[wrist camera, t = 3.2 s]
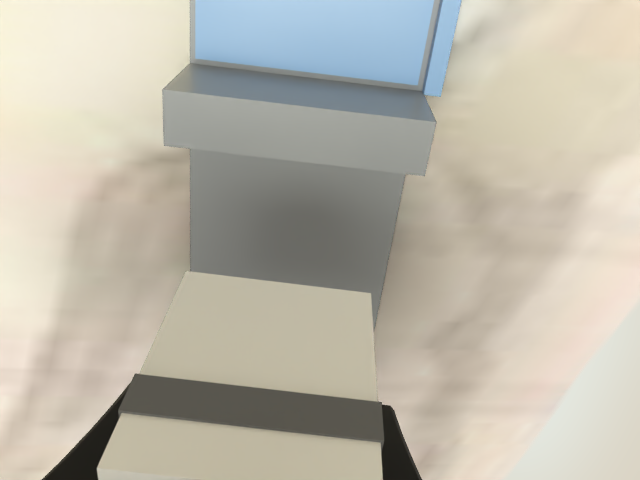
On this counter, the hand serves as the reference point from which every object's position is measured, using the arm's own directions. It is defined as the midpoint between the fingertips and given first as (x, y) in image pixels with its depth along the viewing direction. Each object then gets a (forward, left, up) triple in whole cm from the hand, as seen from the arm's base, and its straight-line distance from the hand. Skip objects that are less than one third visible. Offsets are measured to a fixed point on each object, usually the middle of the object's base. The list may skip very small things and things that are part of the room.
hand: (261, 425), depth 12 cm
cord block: (0, 0, -2) cm, 2 cm away
